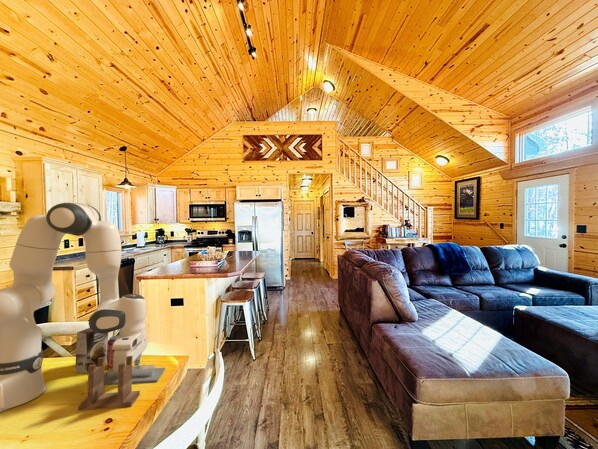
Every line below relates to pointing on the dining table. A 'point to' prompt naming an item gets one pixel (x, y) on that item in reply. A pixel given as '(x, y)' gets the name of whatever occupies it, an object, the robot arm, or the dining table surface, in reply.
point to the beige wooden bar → (135, 371)
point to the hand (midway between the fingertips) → (131, 370)
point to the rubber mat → (136, 378)
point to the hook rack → (109, 400)
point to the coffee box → (90, 349)
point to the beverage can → (110, 351)
